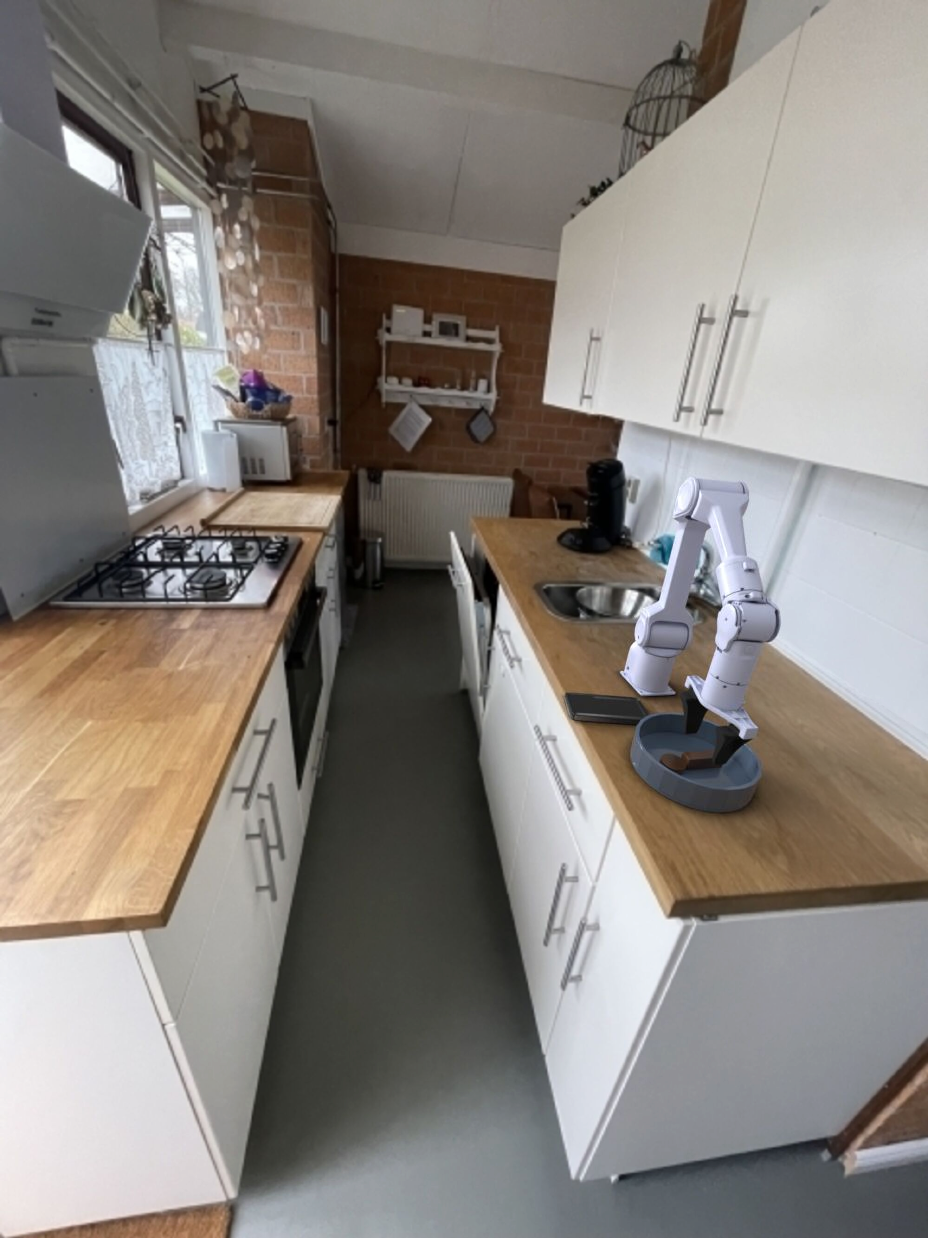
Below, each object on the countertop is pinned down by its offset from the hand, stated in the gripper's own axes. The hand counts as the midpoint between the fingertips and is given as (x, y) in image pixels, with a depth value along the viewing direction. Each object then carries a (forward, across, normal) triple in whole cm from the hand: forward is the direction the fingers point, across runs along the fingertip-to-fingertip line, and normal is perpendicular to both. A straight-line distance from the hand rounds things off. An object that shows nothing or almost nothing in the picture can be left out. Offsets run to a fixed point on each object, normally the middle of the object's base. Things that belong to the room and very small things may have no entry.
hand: (703, 747), depth 83 cm
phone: (+4, +17, +8) cm, 19 cm away
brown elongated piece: (+4, 0, +1) cm, 4 cm away
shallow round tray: (+4, 0, +1) cm, 5 cm away
